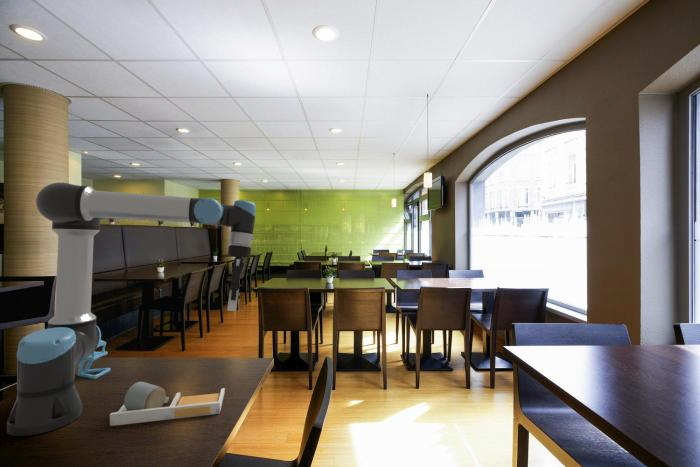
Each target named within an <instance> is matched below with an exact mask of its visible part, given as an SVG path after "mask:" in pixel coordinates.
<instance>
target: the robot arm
mask: <svg viewBox="0 0 700 467" xmlns="http://www.w3.org/2000/svg"><path fill="white" fill-rule="evenodd" d="M35 199H36V200H35V204H36V207H37V208H36V209H37V210H38V212H39V214H40V215H41V216H43V217H44V218H45V219H47V220H49V221H51V231H53V232H54V233H55V234H56V235H57V255H56V256H57V259H56V282H55V285H56V286H55V308H54V316H52V317H51V318H50V319H49V320H48V322H47V328H45V329H41V330H39V331H37V330H36V331H33V332H31V333H29V334H26V335H25V336H24V337H23V338H21V340H20V341H19V342H18V345H17V351H16V362H17V364H16V367H17V368H16V371H17V373H16V375H17V376H16V400H15V402H14V405H13V407H12V409H11V412H10V414H9V417H8V419H7V422H6V433H7V434H8V435H11V436H14V437H27V436H34V435H39V434H45V433H47V432H51V431H54V430H57V429H60V428H62V427H64V426H66V425H68V424H70V423H72V422H74V421H76V420H77V419H78V418H79V417H80V416H82V413H83V403H82V402H83V401H82V400H81V397H80V395H79V392H78V390H77V388H76V386H75V384H76V382H75V381H76V380H75V377H76V369H75V368H76V366H77V365H79V362H81V361H82V360H84V359H85V358H87V357H88V356H90V355H91V354H92V353H93V352H94V351H95V352H96V349H98V348H99V347H98V345H99V343H100V340H102V332H101V330H100V327H99V326H98V325H97V316H96V315H95V314H94V313H93V312H92V311H91V310H92V291H93V290H92V287H93V266H94V265H93V260H94V242H95V241H94V240H95V238H94V237H95V236H96V235H97V234H98V233H99V232H100V230H101V221H102V220H103V219H114V220H132V221H133V220H134V221H135V220H136V221H152V222H153V221H154V222H155V221H156V222H170V223H171V222H172V223H188V224H190V223H192V224H202V225H205V226H206V225H208V226H209V225H210V226H217V227H226V228H227V227H228V228H230V232H229V240H228V243H229V245H228V247H227V248H228V249H227V256H228V257H233V258H234V259H233V261H231V270H230V271H231V272H230V273H231V280H230V281H231V282H230V285H229V286H228V287H227V290H229V294H228V302H227V310H226V311H228V312H229V311H231V312H232V311H233V312H237V308H238V298H239V291H240V288H241V287H242V284H241V283H240V280H241V275H242V274H243V269H244V268H245V266H244V265H245V262H243V258H244V259H245V258H246V259H249V258H251V253H252V247H251V246H252V243H253V241H254V240H255V237H253V235H254V228H255V221H256V214H257V213H256V212H257V206H256V204H255V203H254V202H253V201H249V200H241V199H238V200H235V201H234V203H233V204H229V205H227V204H223V203H220V202H219V200H217V199H214V198H211V197H204V198H199V197H197V198H196V197H186V196H184V197H183V196H172V195H171V196H170V195H159V194H158V195H157V194H147V193H146V194H144V193H132V192H120V191H119V192H118V191H105V190H96V189H94V187H92V186H90V185H89V186H88V185H86V186H85V185H78V184H72V183H68V182H54V183H50V184H48V185H46V186H44V187H43V188H42V189H41V190H40V191H39V192H38V193H37V195H36V198H35ZM97 347H98V348H97Z"/></svg>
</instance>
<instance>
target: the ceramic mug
mask: <svg viewBox="0 0 700 467" xmlns="http://www.w3.org/2000/svg"><path fill="white" fill-rule="evenodd" d="M169 400H170V397H169V396H166V391H165V389H164V388H163V387H161V386H158V385H156V384H151V383H149V382H145V381H137V382H135V383H134V384H133V385H131V386H130V387H129V388H128V389H127V391H126V393H125V396H124V398H123V405H124V406H125V408H126V409H127V410H126V411H132V410H141V409H151V408H160V407H164V404H168V402H169Z"/></svg>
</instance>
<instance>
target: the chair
mask: <svg viewBox="0 0 700 467" xmlns="http://www.w3.org/2000/svg"><path fill="white" fill-rule="evenodd" d="M106 345H107V342H106V341H104V340H102V339H101V340H100V343H99V345H98V347H97V348H96V349H98V348H99V347H100V348H101V347H102V348H101V351H96V350H95V351H94V352H93V353H92V354H91V355H90V356H88V357H87V358H85V359H84V360H82V361H81V362H79V363H78V368H77V369H78V370H77V377H82V378H86V379H87V378H88V379H93V380H95V379H98V378H99V377H101V376H103V375H105V374H107V373H109V372H111V367H105V368H93V369H90V368H91V366H92V363H93V362H94V361H95V360H98V359H99V358H101V357H103V356H104V357H105V356H106V355H108V352H109V351H106V350H105V348H106ZM87 361H88V362H87ZM85 362H87V364H86V366H85V368H84V364H85ZM91 373H97V374H95V375H94V374H91Z"/></svg>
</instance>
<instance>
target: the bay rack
mask: <svg viewBox="0 0 700 467" xmlns="http://www.w3.org/2000/svg"><path fill="white" fill-rule="evenodd" d="M225 392H226V388H225V387H223V388H221V389H220V392H219V393H217V392H216V393H209V394H198V395H197V394H196V395H188V396H187V395H186V396H181V393H182V392H176V393H175V396H174V397H173V399H172V402H171V403H170V405H169V406H162V407H160V408H151V409H141V410H132V411H129V410H127V409H126V408H125V406H124V404H122V406H121V407H120V408H119V410H118V411H115V412H110V414H109V426H110V427H113V426H114V427H115V426H124V425H132V424H140V423H149V422H157V421H158V422H159V421H166V420H175V419H185V418H194V417H201V416H210V415H211V416H212V415H219V414H221V410H222V405H223V401H224V398H225Z"/></svg>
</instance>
